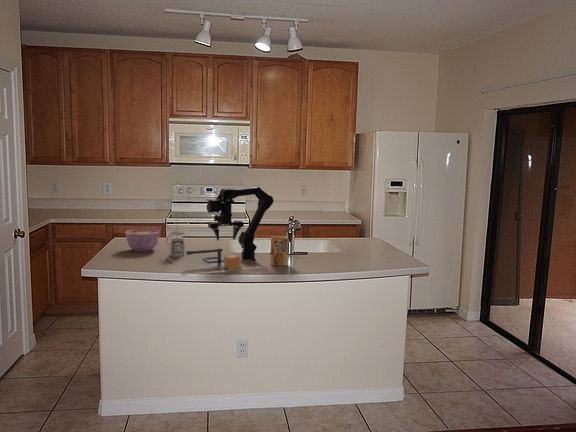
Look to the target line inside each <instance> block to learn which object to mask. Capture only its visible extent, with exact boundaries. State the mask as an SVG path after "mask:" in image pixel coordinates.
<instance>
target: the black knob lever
mask: <svg viewBox="0 0 576 432" xmlns="http://www.w3.org/2000/svg"><path fill="white" fill-rule="evenodd" d="M223 250H224V249H223V248H212V249H200V250H186V255H187V256H188V255H190V256H191V255H194V254H195V255H196V254H208V253H209V254H210V253H217V256H218V264H221V258H222V252H223Z"/></svg>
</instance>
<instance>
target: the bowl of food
mask: <svg viewBox="0 0 576 432" xmlns="http://www.w3.org/2000/svg"><path fill="white" fill-rule="evenodd" d="M160 231H161V230H159V229H156V228H133V229H128V230H125V232H124V234H125V238H126V241H127V244H128V246H129V248H130V249H132V250H134V251H136V252H138V253H139V252H140V253H145V252H150V251H151V250H153V249H154V248H156V247H157V245H158V242H159V238H160V233H161V232H160Z"/></svg>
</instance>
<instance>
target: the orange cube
mask: <svg viewBox="0 0 576 432" xmlns="http://www.w3.org/2000/svg"><path fill="white" fill-rule="evenodd" d="M240 258H241V257H240V256H238V255H235V254H234V255H233V254H232V255H225V256H224V258H223V259H224V265H223V266H224V268H225V269H228V270H233V269H239V268H240V261H241V260H240Z"/></svg>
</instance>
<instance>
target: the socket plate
mask: <svg viewBox="0 0 576 432" xmlns="http://www.w3.org/2000/svg"><path fill="white" fill-rule="evenodd" d="M198 259H199V260H200V261H202V262H203V263H205V264H206V265H207V266H209V267H217V266H218V267H220V266H224V258H223V257H221V264H218V255H217V256H209V257H198Z"/></svg>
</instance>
